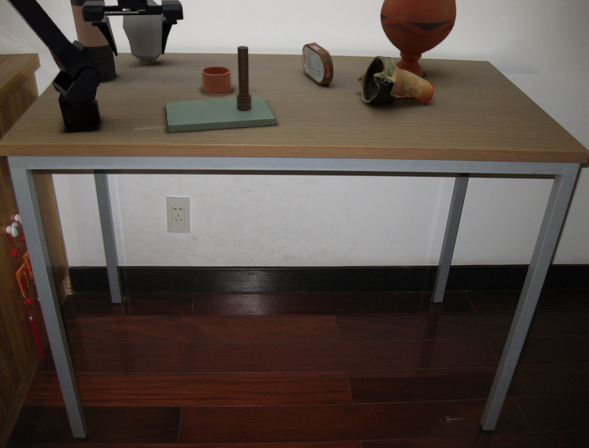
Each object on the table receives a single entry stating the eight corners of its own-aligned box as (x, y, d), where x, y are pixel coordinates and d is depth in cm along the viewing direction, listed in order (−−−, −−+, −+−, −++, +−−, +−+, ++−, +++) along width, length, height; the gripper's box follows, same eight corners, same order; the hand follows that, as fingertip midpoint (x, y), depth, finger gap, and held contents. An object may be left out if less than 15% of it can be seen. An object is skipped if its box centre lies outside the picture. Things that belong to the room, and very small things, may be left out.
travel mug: (108, 83, 122) (92, -4, 111) (79, 80, 123) (61, -7, 112) (123, 74, 128) (109, -10, 117) (95, 71, 129) (79, -13, 118)
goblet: (450, 86, 130) (473, -19, 116) (377, 83, 130) (391, -22, 115) (435, 64, 145) (453, -31, 131) (369, 61, 145) (381, -34, 131)
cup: (204, 96, 117) (202, 75, 114) (201, 86, 123) (200, 66, 120) (233, 95, 119) (232, 74, 116) (229, 85, 124) (228, 65, 121)
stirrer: (234, 110, 107) (232, 48, 100) (239, 104, 110) (238, 44, 102) (248, 111, 107) (247, 50, 99) (253, 106, 109) (252, 46, 102)
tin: (333, 88, 126) (336, 54, 121) (322, 89, 124) (324, 55, 120) (310, 70, 137) (311, 38, 132) (299, 71, 136) (300, 39, 131)
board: (168, 132, 100) (168, 125, 99) (166, 108, 110) (165, 101, 110) (275, 125, 105) (275, 118, 104) (263, 102, 115) (263, 96, 115)
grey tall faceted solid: (172, 69, 133) (159, -59, 116) (128, 71, 131) (108, -60, 114) (169, 57, 142) (157, -64, 125) (128, 58, 140) (110, -64, 123)
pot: (456, 72, 110) (385, 46, 104) (439, 122, 112) (369, 99, 106) (417, 73, 126) (355, 51, 120) (403, 117, 128) (341, 97, 122)
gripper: (176, -35, 102) (183, 43, 111) (80, -36, 98) (95, 45, 107) (179, -27, 93) (187, 57, 102) (73, -27, 89) (91, 61, 98)
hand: (140, 55), depth 102 cm, fingers open, 9 cm apart
